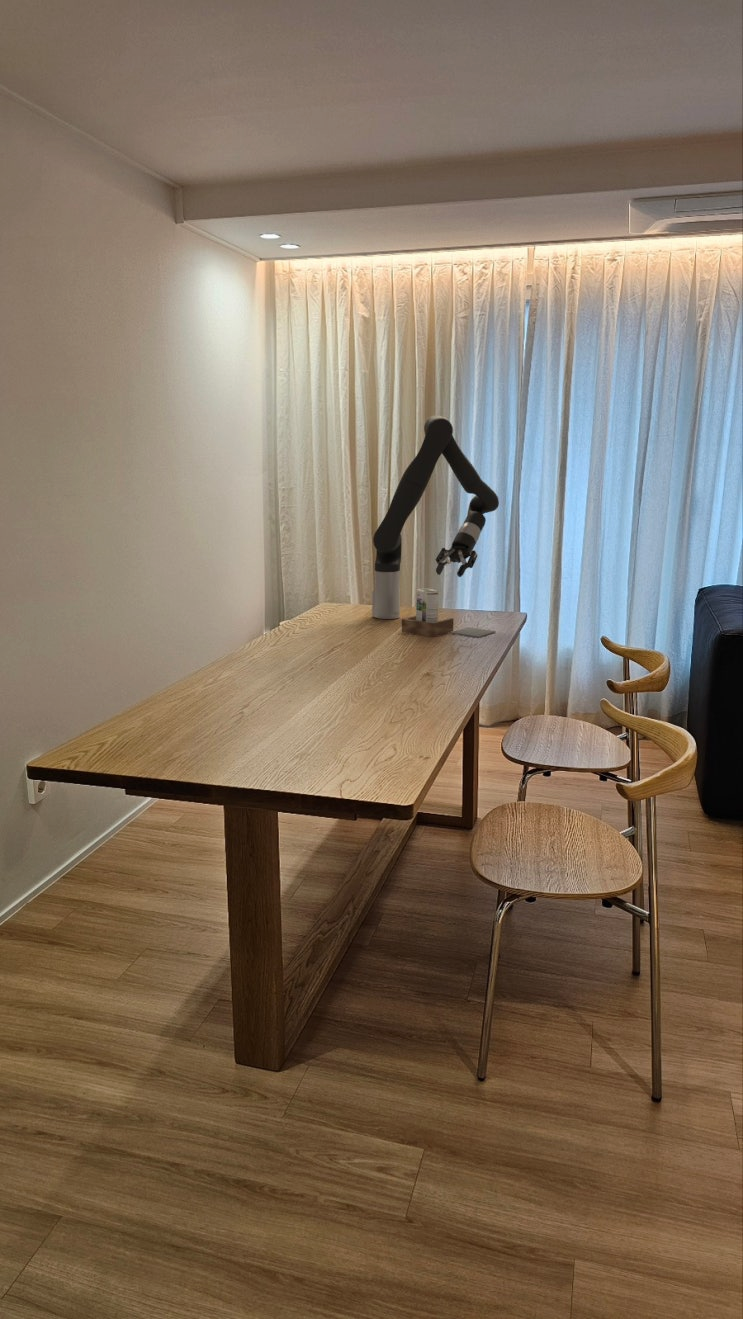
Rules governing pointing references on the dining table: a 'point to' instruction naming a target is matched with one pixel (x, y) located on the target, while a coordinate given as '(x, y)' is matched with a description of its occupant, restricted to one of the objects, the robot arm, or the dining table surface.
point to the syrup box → (427, 605)
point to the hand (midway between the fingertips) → (448, 574)
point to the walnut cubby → (426, 627)
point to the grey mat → (473, 632)
